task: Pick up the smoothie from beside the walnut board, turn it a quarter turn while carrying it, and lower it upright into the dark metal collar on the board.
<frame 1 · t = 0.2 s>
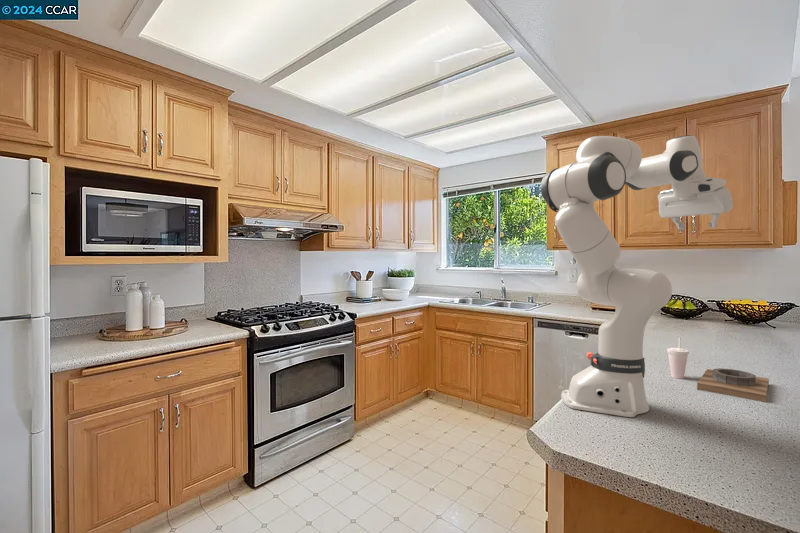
hand: (697, 228, 127), 51 cm above the worktop, tool tilted 20°, fingers open, 8 cm apart
smoothie: (677, 377, 137), on the worktop
stand: (733, 386, 126), on the worktop
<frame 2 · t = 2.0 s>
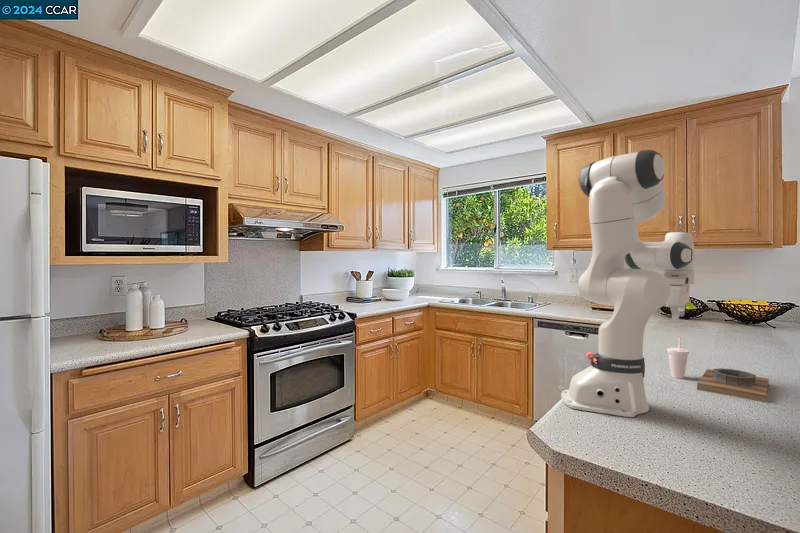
hand: (678, 317, 136), 21 cm above the worktop, tool pointing down, fingers open, 8 cm apart
nothing on the worktop moved.
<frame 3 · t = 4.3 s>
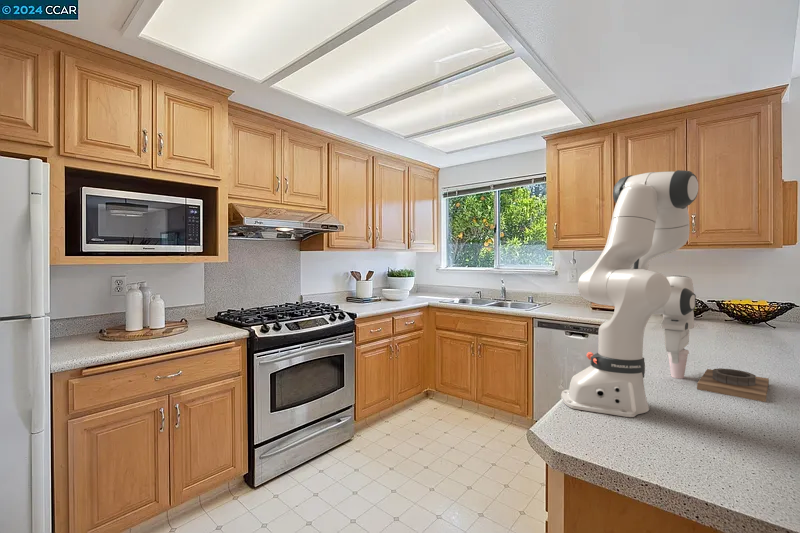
hand: (677, 361, 137), 6 cm above the worktop, tool pointing down, fingers closed on smoothie, 6 cm apart
smoothie: (677, 377, 137), on the worktop, touching gripper
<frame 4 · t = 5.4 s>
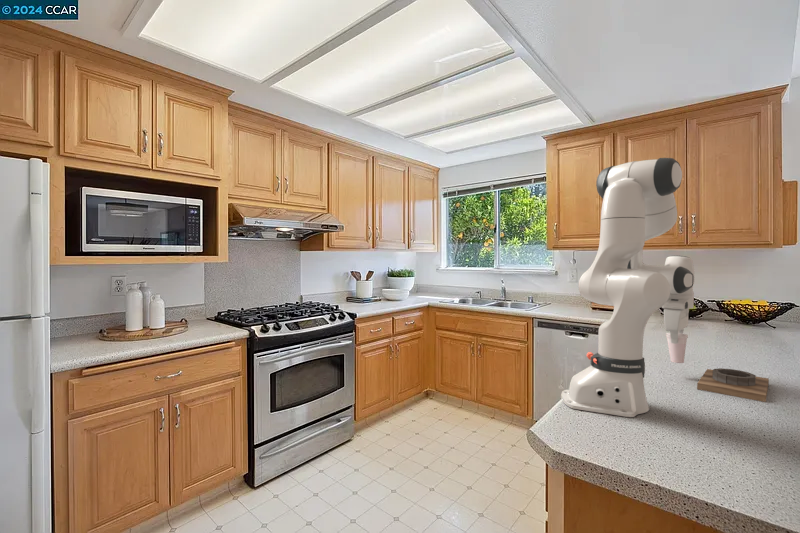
hand: (676, 341, 136), 12 cm above the worktop, tool pointing down, fingers closed on smoothie, 6 cm apart
smoothie: (677, 362, 136), point 5 cm above the worktop, touching gripper
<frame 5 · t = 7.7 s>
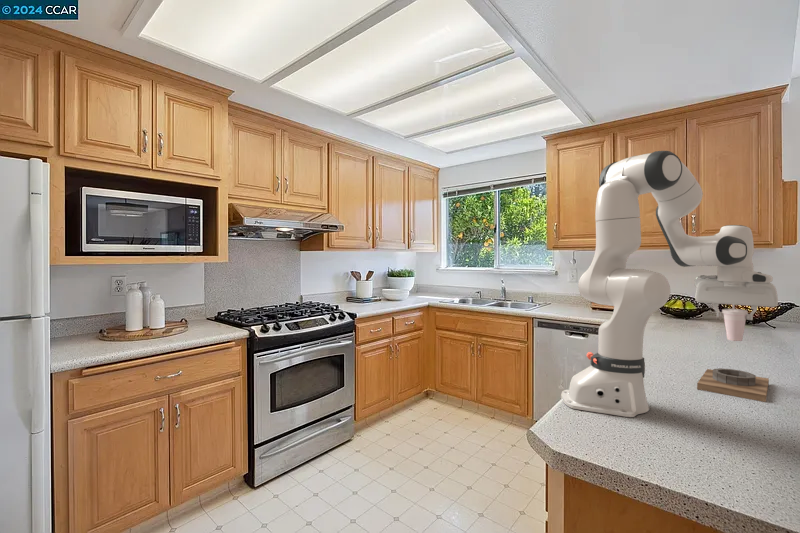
hand: (734, 318, 126), 22 cm above the worktop, tool pointing down, fingers closed on smoothie, 6 cm apart
smoothie: (734, 340, 126), point 15 cm above the worktop, touching gripper
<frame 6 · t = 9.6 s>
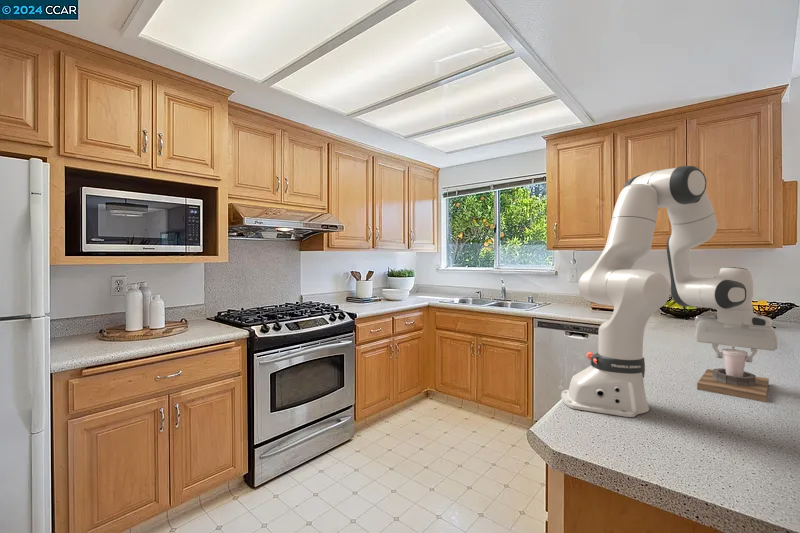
hand: (734, 359, 126), 9 cm above the worktop, tool pointing down, fingers closed on smoothie, 6 cm apart
smoothie: (734, 381, 126), point 2 cm above the worktop, touching gripper, stand
when the fingers open (9 cm above the worktop, at t = 10.4 s): smoothie stays where it is, resting on stand.
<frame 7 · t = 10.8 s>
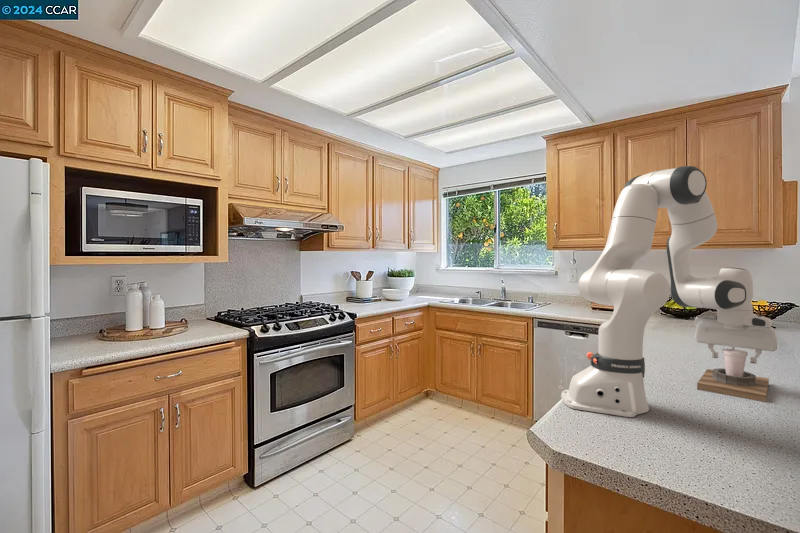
hand: (733, 360, 126), 9 cm above the worktop, tool pointing down, fingers open, 8 cm apart
smoothie: (734, 381, 126), point 2 cm above the worktop, touching stand
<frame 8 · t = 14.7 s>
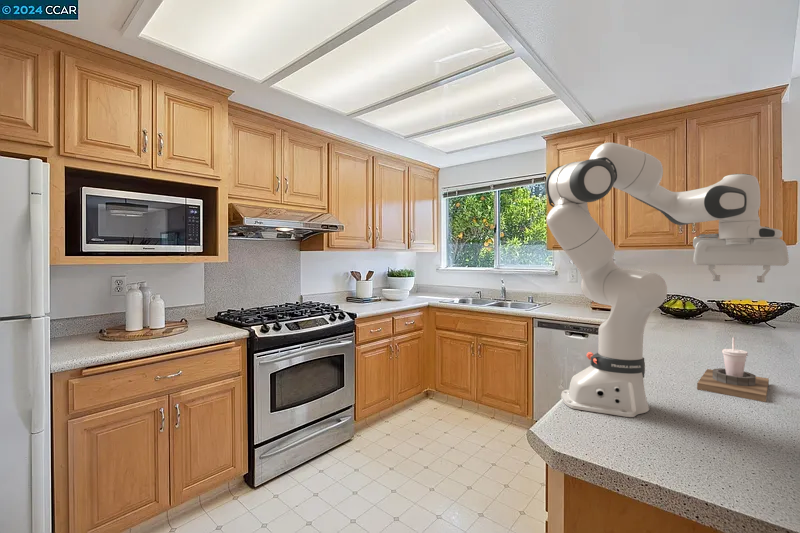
hand: (738, 281, 110), 35 cm above the worktop, tool pointing down, fingers open, 8 cm apart
nothing on the worktop moved.
at the end: smoothie 0.4 cm off-centre on the stand, point 1.8 cm above the stand's base; smoothie tilted 0°; the gripper is holding nothing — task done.
